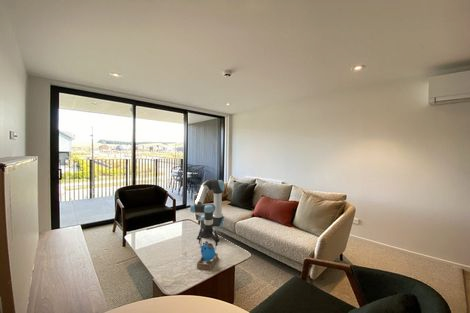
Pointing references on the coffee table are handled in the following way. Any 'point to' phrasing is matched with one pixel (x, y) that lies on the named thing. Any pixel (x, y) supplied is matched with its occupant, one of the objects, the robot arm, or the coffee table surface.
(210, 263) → the open rectangular wooden box
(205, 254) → the alarm clock
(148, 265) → the coffee table surface
